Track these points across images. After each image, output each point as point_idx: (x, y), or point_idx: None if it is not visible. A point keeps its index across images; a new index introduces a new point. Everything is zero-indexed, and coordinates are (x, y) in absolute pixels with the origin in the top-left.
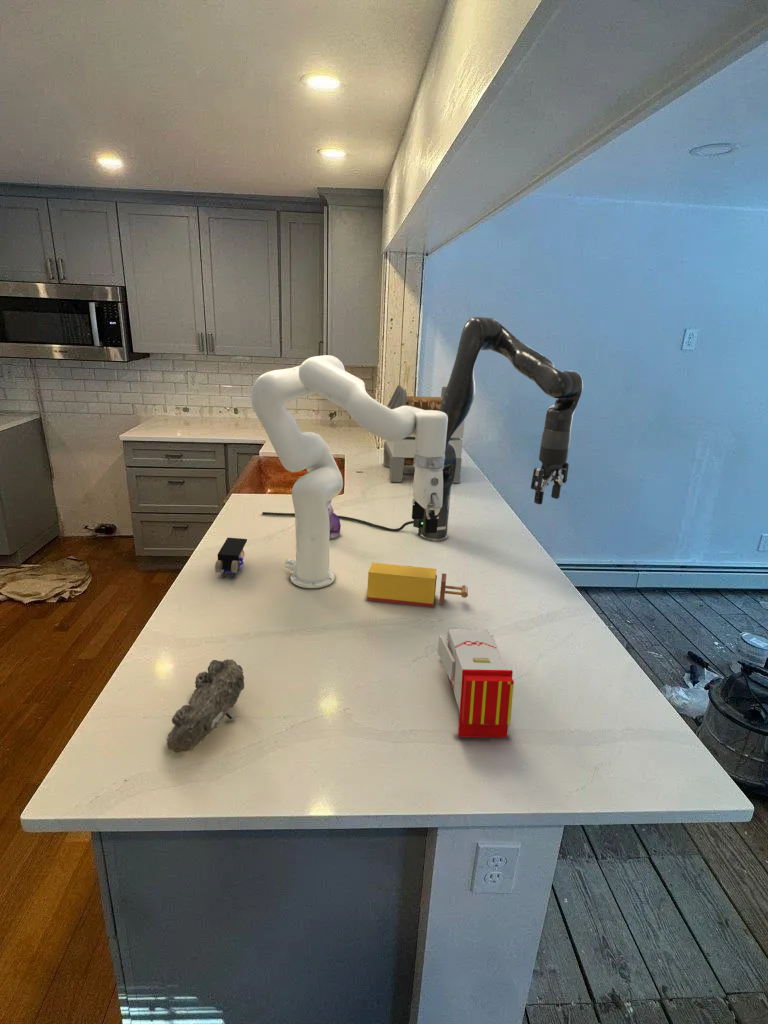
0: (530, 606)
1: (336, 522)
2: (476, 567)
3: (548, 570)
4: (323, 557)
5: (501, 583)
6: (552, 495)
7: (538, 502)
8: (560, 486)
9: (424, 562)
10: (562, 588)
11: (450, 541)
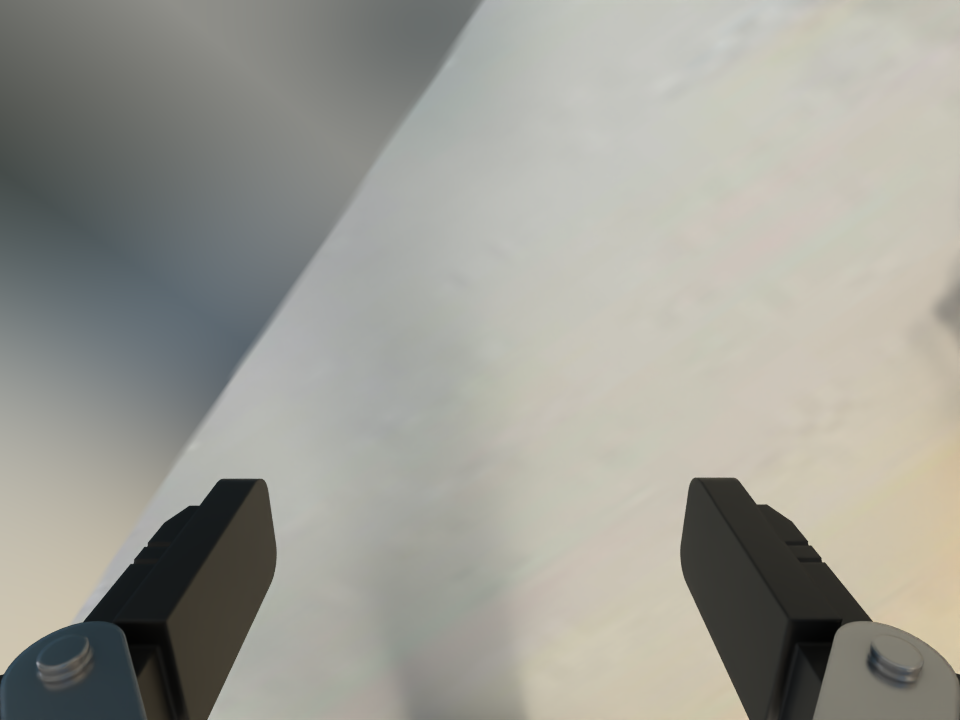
0: (760, 95)
1: None
2: (591, 498)
3: (323, 281)
4: None
5: (645, 336)
6: (265, 573)
7: (770, 510)
8: (90, 636)
9: None
10: (444, 106)
11: (461, 704)
